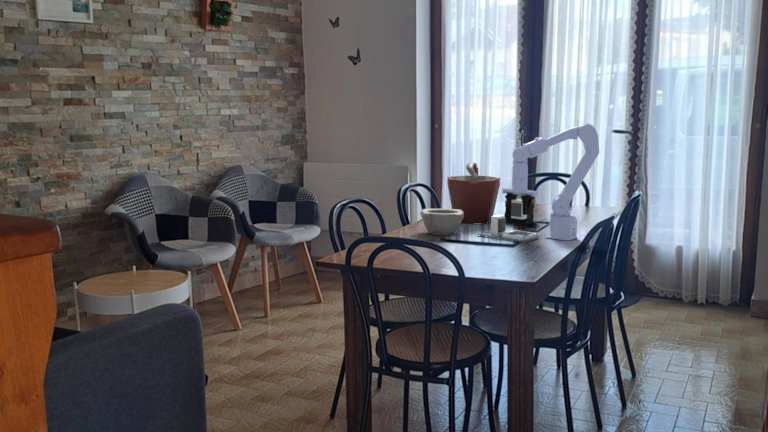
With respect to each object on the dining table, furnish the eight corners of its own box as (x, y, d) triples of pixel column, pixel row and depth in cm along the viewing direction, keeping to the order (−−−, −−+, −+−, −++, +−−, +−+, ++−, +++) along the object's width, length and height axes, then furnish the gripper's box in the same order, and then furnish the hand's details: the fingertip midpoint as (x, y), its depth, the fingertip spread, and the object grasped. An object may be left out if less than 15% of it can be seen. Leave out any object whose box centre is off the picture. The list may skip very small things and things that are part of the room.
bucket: (486, 227, 292) (487, 166, 288) (436, 223, 302) (437, 164, 298) (503, 218, 314) (504, 161, 310) (456, 214, 324) (457, 159, 320)
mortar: (463, 230, 286) (464, 207, 285) (463, 238, 270) (463, 214, 268) (422, 229, 288) (422, 207, 287) (419, 237, 272) (419, 213, 270)
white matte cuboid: (515, 217, 275) (515, 199, 274) (526, 218, 272) (527, 200, 271) (509, 218, 272) (510, 200, 271) (520, 219, 269) (521, 201, 268)
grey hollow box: (538, 238, 269) (539, 217, 268) (524, 242, 261) (525, 221, 260) (492, 232, 282) (492, 212, 280) (477, 236, 273) (478, 216, 272)
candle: (503, 223, 300) (504, 200, 299) (510, 220, 309) (511, 197, 308) (527, 225, 296) (527, 202, 294) (533, 222, 305) (534, 199, 303)
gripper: (542, 178, 268) (541, 214, 270) (509, 176, 278) (509, 210, 280) (532, 180, 263) (530, 216, 265) (499, 177, 273) (498, 212, 275)
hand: (518, 213), depth 272 cm, fingers closed on white matte cuboid, 5 cm apart
